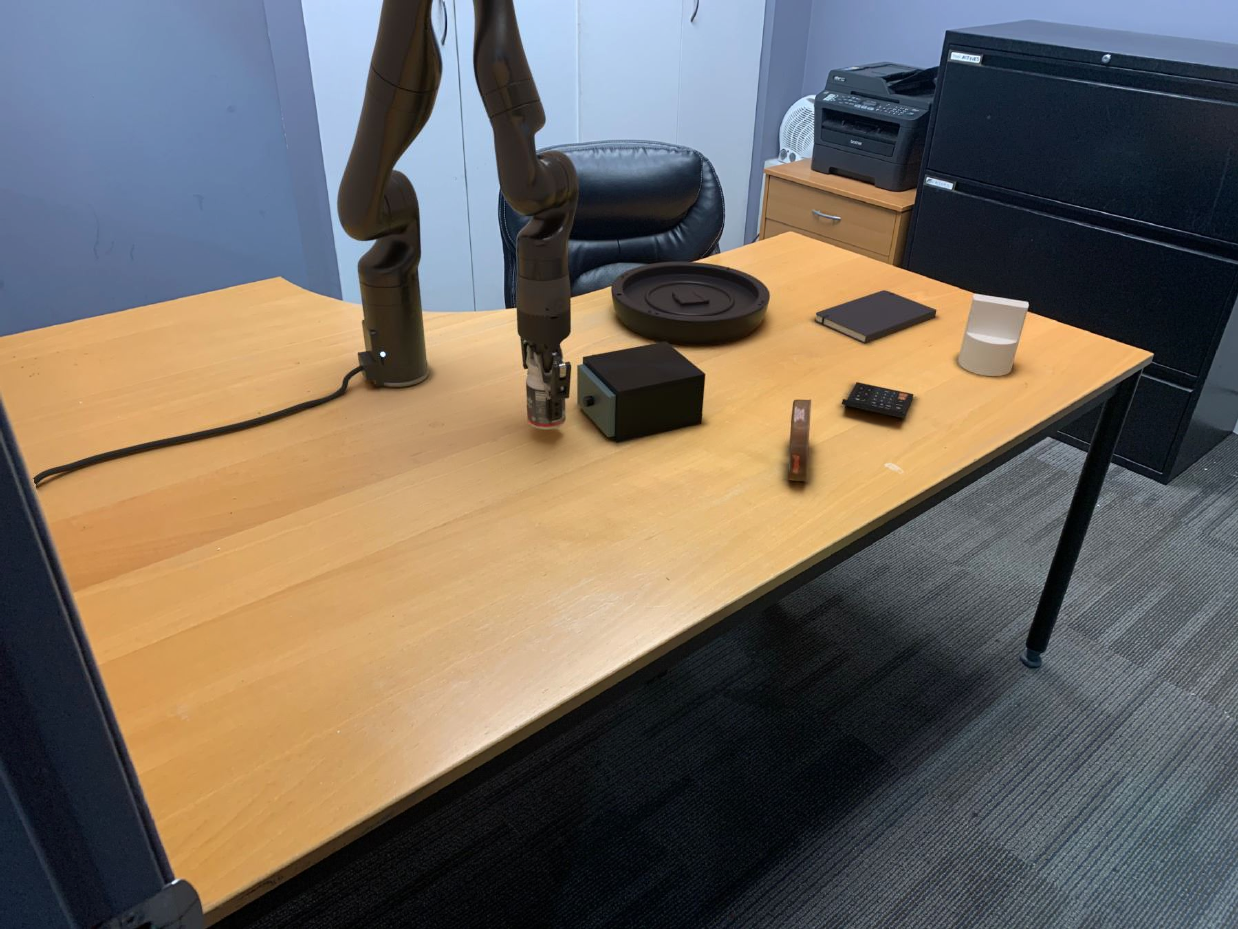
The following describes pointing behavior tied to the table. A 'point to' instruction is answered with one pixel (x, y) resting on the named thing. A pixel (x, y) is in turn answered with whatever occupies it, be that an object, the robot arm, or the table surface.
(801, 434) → the tin
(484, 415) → the table surface
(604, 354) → the cabinet
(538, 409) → the pill bottle
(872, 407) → the calculator
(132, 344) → the table surface
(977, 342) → the cylinder with rectangular tab
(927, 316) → the notebook
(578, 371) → the drawer
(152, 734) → the table surface
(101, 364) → the table surface
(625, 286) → the round tray
